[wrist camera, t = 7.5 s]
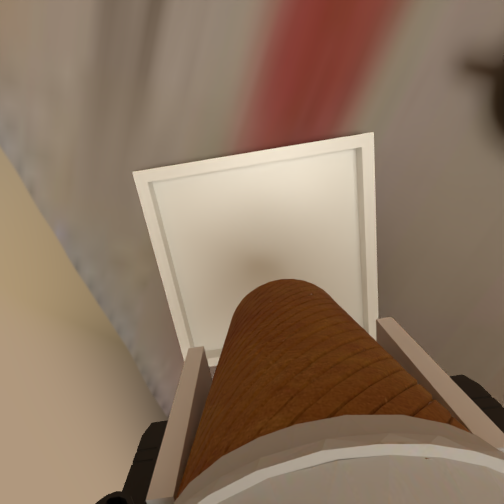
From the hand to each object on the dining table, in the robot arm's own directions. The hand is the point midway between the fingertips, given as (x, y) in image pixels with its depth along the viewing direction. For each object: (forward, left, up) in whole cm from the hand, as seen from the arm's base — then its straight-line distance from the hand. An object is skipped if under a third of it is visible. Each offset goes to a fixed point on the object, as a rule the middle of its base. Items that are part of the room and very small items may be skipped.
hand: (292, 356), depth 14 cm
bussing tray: (0, 0, -16) cm, 16 cm away
